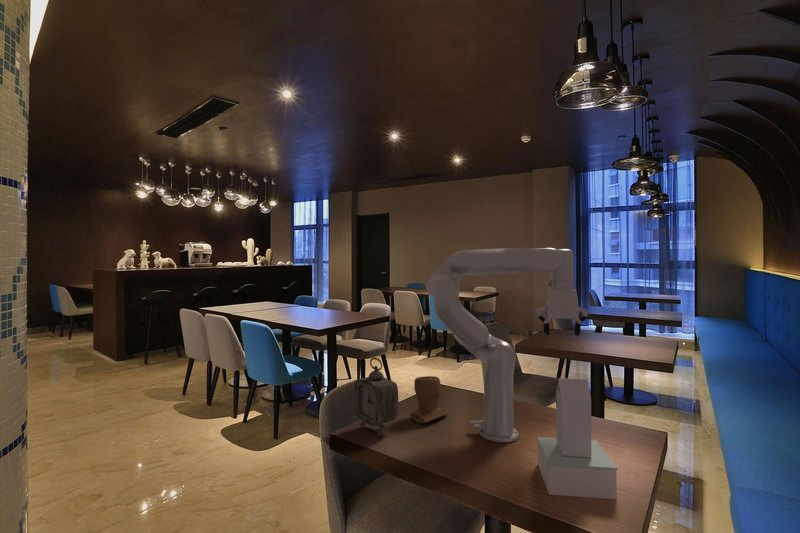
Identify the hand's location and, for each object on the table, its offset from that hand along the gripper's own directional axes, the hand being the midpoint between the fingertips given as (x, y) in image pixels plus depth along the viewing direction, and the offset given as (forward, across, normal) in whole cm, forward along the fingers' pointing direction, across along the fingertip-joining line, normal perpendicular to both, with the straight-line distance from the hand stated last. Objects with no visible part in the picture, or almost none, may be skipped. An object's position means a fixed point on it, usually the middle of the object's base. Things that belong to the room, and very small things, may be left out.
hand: (561, 335), depth 142 cm
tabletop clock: (+32, -63, -9) cm, 71 cm away
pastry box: (+32, -5, -35) cm, 48 cm away
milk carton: (+25, -5, -35) cm, 43 cm away
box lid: (+25, -5, -35) cm, 43 cm away
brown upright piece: (+33, -47, +5) cm, 57 cm away
